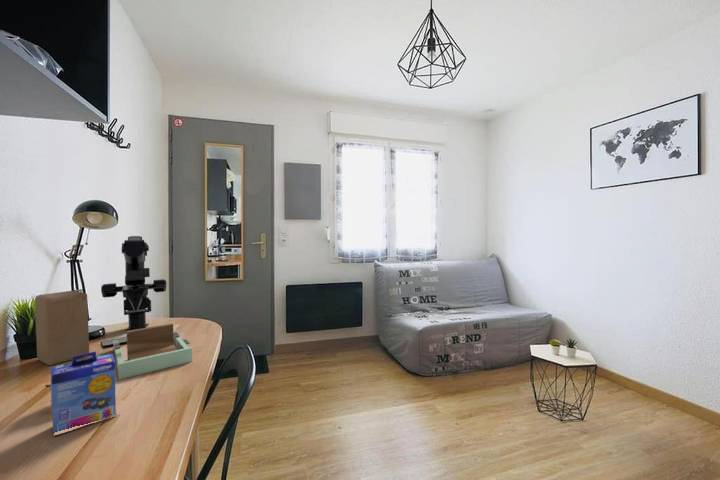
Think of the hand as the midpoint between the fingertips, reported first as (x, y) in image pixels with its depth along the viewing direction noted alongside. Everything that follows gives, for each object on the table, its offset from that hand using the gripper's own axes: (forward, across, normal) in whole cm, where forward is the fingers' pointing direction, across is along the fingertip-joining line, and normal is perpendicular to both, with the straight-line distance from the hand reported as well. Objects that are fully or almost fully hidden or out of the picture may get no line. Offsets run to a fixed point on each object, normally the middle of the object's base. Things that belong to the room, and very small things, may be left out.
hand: (135, 310), depth 110 cm
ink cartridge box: (+36, -8, -36) cm, 52 cm away
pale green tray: (+18, +4, -7) cm, 20 cm away
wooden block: (+11, -19, +5) cm, 22 cm away
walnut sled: (+21, +4, -12) cm, 24 cm away
